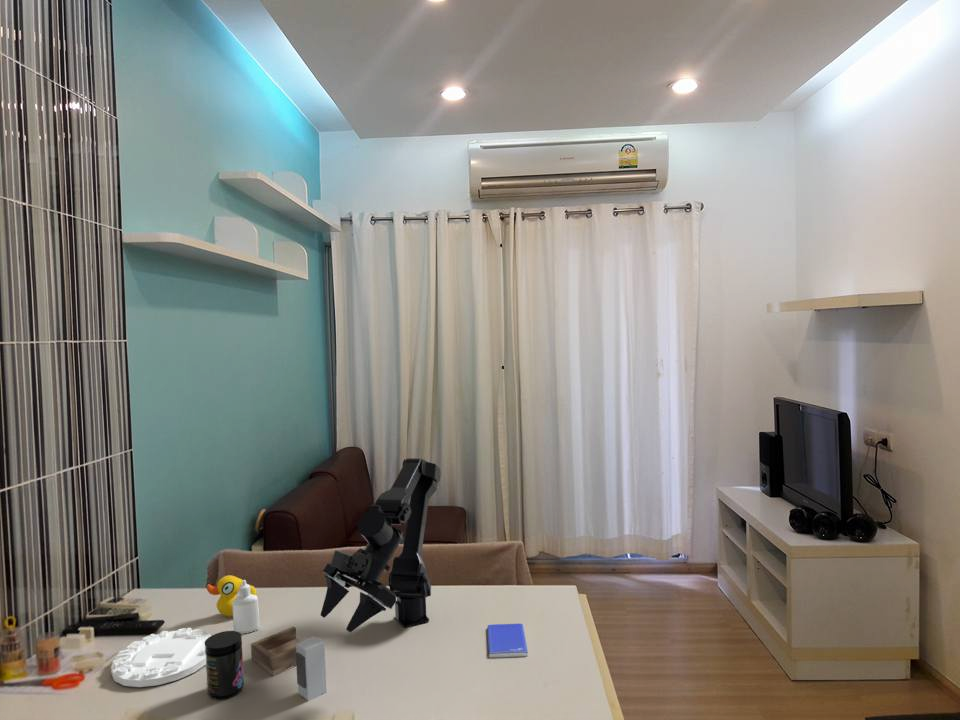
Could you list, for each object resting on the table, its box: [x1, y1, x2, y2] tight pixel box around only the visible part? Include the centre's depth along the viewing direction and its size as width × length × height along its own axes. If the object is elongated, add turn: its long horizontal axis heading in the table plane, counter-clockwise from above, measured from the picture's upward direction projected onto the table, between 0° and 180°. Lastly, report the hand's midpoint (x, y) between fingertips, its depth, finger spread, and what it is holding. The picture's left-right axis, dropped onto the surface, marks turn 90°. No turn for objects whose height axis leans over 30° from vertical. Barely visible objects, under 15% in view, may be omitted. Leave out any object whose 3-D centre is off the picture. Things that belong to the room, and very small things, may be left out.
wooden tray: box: [250, 626, 302, 677], centre depth 134 cm, size 10×10×4 cm
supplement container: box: [205, 630, 245, 700], centre depth 122 cm, size 7×7×10 cm
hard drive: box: [487, 623, 529, 658], centre depth 138 cm, size 2×8×12 cm
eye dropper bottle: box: [232, 579, 260, 635], centre depth 147 cm, size 4×6×12 cm
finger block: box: [295, 635, 328, 702], centre depth 121 cm, size 4×4×10 cm
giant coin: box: [110, 627, 212, 688], centre depth 134 cm, size 20×20×3 cm
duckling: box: [206, 574, 258, 618], centre depth 155 cm, size 11×5×10 cm, turn 114°
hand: (334, 623), depth 124 cm, fingers open, 9 cm apart
